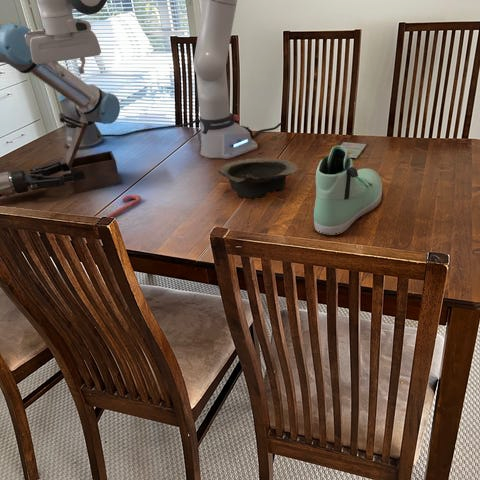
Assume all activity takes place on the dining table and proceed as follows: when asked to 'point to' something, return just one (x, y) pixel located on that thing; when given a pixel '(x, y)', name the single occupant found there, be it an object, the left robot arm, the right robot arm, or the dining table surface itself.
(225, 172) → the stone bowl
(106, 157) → the chest
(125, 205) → the candy cane
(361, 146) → the baking ingredient package
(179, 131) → the dining table surface
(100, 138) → the left robot arm
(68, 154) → the lid
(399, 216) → the dining table surface
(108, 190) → the dining table surface
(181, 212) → the dining table surface
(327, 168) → the sneaker
